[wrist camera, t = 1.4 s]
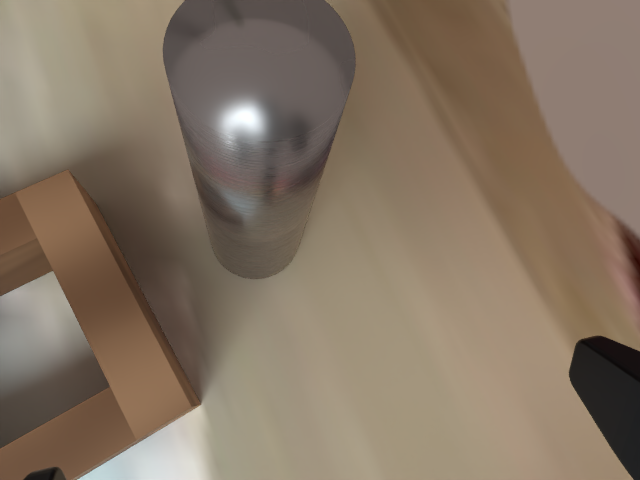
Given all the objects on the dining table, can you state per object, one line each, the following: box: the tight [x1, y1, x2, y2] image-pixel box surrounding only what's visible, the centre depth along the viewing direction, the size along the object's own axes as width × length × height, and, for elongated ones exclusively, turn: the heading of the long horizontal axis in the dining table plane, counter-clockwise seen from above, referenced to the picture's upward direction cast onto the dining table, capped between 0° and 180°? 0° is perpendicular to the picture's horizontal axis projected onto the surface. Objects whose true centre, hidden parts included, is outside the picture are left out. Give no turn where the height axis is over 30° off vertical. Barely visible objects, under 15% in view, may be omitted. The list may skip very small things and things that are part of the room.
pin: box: [163, 0, 356, 279], centre depth 17 cm, size 4×4×13 cm
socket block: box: [0, 170, 201, 480], centre depth 18 cm, size 10×10×4 cm
